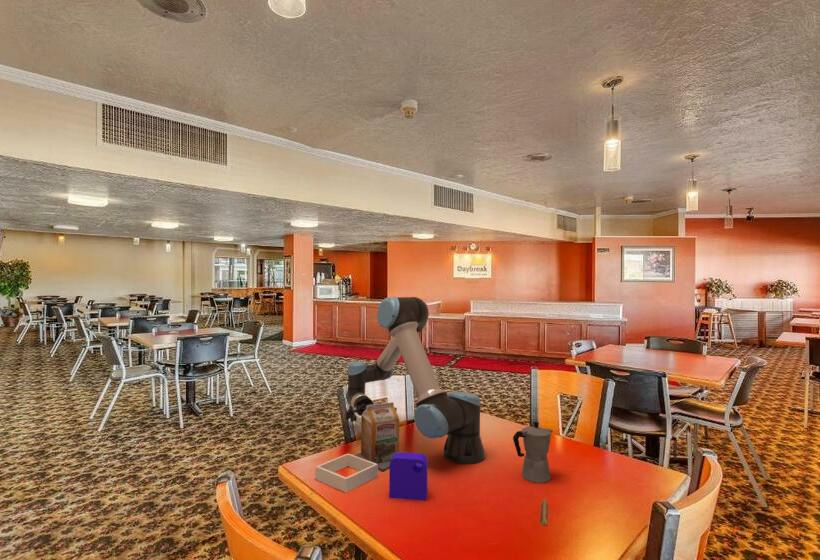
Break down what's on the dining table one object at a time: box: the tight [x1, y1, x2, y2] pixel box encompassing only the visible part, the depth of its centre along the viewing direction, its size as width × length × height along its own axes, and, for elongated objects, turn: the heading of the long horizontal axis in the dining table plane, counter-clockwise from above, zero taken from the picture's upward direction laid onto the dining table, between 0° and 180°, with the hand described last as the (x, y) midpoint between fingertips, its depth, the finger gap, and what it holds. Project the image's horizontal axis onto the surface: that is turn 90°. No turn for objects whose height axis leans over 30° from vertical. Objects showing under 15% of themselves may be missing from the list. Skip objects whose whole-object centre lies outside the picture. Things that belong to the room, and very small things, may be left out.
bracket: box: [388, 451, 429, 501], centre depth 132 cm, size 18×11×12 cm, turn 173°
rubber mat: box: [353, 452, 391, 472], centre depth 152 cm, size 16×14×1 cm
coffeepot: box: [512, 421, 554, 484], centre depth 138 cm, size 15×9×18 cm, turn 110°
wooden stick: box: [539, 497, 549, 526], centre depth 115 cm, size 3×12×2 cm, turn 161°
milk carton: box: [360, 401, 400, 464], centre depth 152 cm, size 10×11×19 cm
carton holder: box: [314, 453, 379, 493], centre depth 136 cm, size 14×14×4 cm
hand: (377, 419), depth 154 cm, fingers open, 13 cm apart
